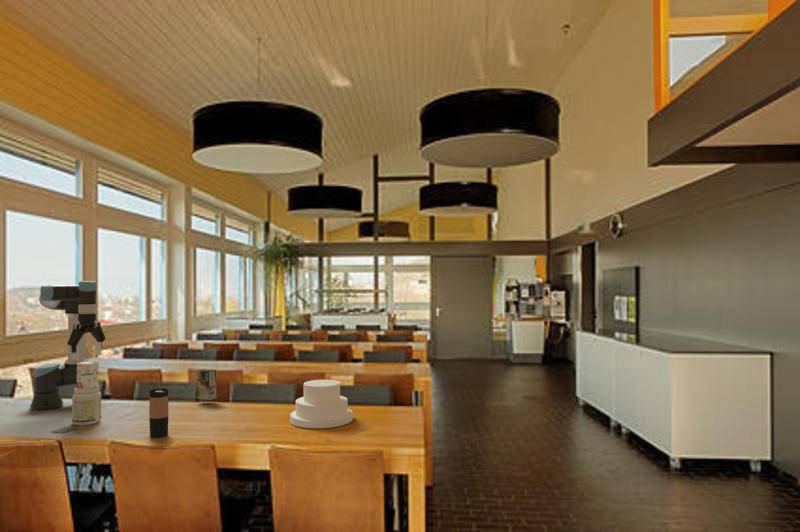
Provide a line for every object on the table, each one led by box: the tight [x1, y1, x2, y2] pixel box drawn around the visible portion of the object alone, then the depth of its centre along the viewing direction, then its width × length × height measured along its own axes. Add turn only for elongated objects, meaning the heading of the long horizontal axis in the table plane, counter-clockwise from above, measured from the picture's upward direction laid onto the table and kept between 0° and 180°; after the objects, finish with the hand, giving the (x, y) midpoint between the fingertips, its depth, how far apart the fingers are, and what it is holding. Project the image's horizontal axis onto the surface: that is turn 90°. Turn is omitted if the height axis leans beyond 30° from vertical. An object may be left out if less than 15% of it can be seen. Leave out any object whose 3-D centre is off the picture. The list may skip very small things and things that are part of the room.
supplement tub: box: [71, 385, 102, 426], centre depth 261 cm, size 12×12×17 cm
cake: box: [289, 379, 354, 429], centre depth 265 cm, size 30×30×18 cm
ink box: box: [76, 361, 99, 388], centre depth 262 cm, size 9×5×12 cm, turn 75°
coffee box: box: [196, 368, 217, 401], centre depth 311 cm, size 9×6×16 cm
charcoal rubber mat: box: [49, 426, 78, 435], centre depth 248 cm, size 8×7×1 cm
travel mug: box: [148, 388, 169, 439], centre depth 238 cm, size 8×8×20 cm
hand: (87, 357), depth 262 cm, fingers open, 13 cm apart
